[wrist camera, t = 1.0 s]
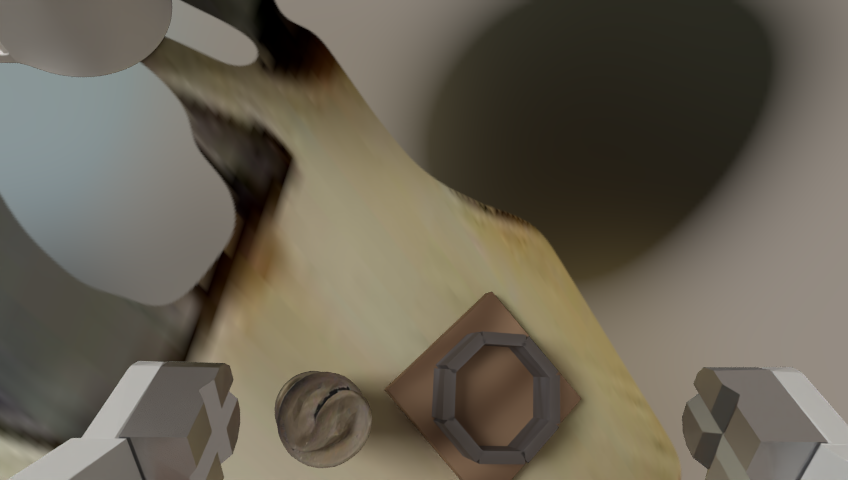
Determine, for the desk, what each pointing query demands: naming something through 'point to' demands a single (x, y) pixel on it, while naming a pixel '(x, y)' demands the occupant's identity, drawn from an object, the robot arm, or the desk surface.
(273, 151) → the desk surface
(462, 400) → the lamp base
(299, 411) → the light bulb
